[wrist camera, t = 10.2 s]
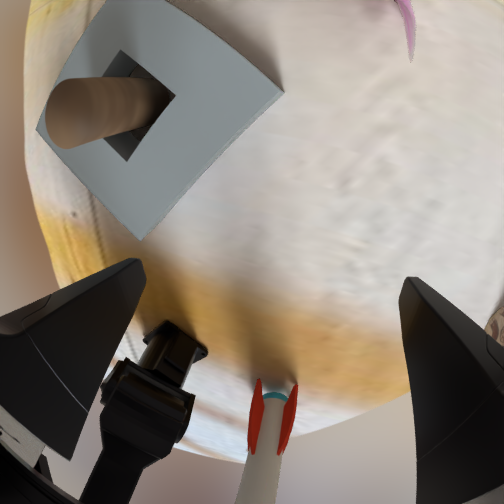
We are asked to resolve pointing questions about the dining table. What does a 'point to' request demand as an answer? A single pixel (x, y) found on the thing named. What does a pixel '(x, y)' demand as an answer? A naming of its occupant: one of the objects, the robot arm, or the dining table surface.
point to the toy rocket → (266, 444)
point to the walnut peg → (102, 108)
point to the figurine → (496, 326)
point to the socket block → (173, 117)
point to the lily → (408, 24)
